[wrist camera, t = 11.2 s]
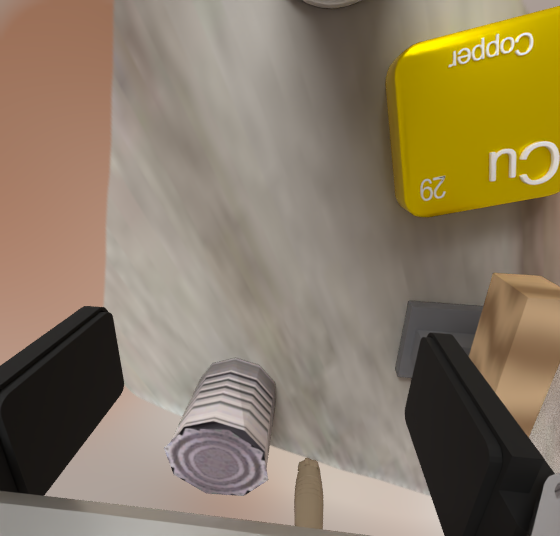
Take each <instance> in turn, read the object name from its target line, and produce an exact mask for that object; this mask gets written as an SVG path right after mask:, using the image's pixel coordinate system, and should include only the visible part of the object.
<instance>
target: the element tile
mask: <svg viewBox="0 0 560 536" xmlns="http://www.w3.org/2000/svg"><path fill="white" fill-rule="evenodd" d="M386 96H387V107H388V118H389V130H390V141H391V152H392V163H393V175H394V186H395V196H396V199H397V201H398V203H399V205H400V206H401V207H403V208H404V209H406V210H407V211H408V212H410V213H411V214H413V215H414V216H418V217H433V216H439V215H444V214H450V213H455V212H461V211H467V210H472V209H478V208H483V207H489V206H495V205H500V204H506V203H512V202H517V201H523V200H528V199H534V198H540V197H545V196H550V195H553V194H556V193H558V192H559V191H560V6H557V7H553V8H549V9H545V10H542V11H538V12H534V13H530V14H526V15H522V16H518V17H515V18H511V19H507V20H503V21H499V22H495V23H491V24H488V25H484V26H480V27H476V28H472V29H468V30H464V31H461V32H457V33H453V34H449V35H445V36H441V37H437V38H434V39H430V40H426V41H422V42H418V43H416V44H414V45H412V46H410V47H409V48H408V49H406V50H405V51H404V52H402V53H401V54H400V55H399V56H398V57H397V58H396V59H395V60H394V61H393V63H392V64H391V66H390V67H389V69H388V72H387V76H386Z"/></svg>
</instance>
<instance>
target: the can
mask: <svg viewBox="0 0 560 536" xmlns="http://www.w3.org/2000/svg"><path fill="white" fill-rule="evenodd" d="M274 409H275V382H274V381H273V380H272V379H271V377H270V376H269V375H268V374H267V373H266V372H265V371H264V369H263V368H262V367H261V366H260V365H257V364H254V363H251V362H248V361H245V360H242V359H239V358H232V359H228V360H223V361H219V362H215V363H212V365H211V366H210V367H209V368H208V370H207V371H206V372H205V373H204V375H203V376H202V377H201V379H200V381H199V383H198V385H197V387H196V389H195V391H194V393H193V395H192V398H191V400H190V402H189V404H188V406H187V408H186V410H185V412H184V415H183V417H182V419H181V421H180V423H179V425H178V428H177V429H176V431H175V434H174V436H173V438H172V440H171V442H170V443H169V444H168V445H167V446H166V447H164V449H165V452H166V455H167V458H168V460H169V463H170V465H171V468H172V471H173V474H174V475H176V476H177V477H179V478H181V479H182V480H184V481H186V482H188V483H189V484H191V485H193V486H194V487H196V488H198V489H200V490H201V491H203V492H205V493H209V494H224V495H240V496H244V495H245V494H247V493H249V492H250V491H252V490H254V489H255V488H257V487H258V486H260V485H261V484H263V483H264V482H266V481H267V480H268V476H267V470H266V467H267V460H268V453H269V446H270V438H271V431H272V424H273V417H274Z"/></svg>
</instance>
